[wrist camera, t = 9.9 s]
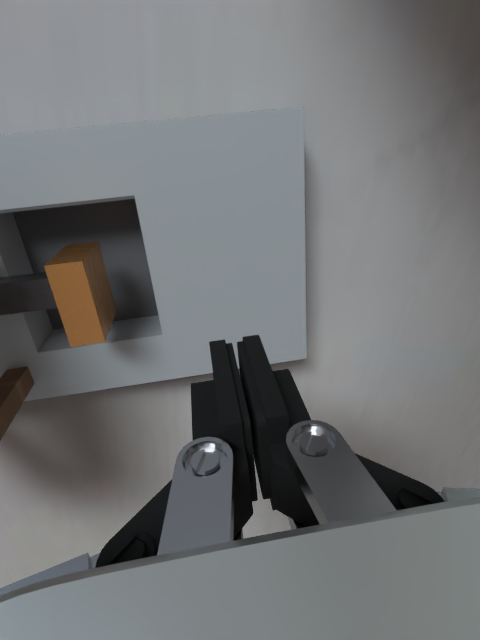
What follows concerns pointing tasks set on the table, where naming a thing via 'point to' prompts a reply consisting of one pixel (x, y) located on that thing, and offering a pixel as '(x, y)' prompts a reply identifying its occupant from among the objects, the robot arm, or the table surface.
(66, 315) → the sled
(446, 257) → the table surface
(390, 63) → the table surface
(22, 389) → the tunnel
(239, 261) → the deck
